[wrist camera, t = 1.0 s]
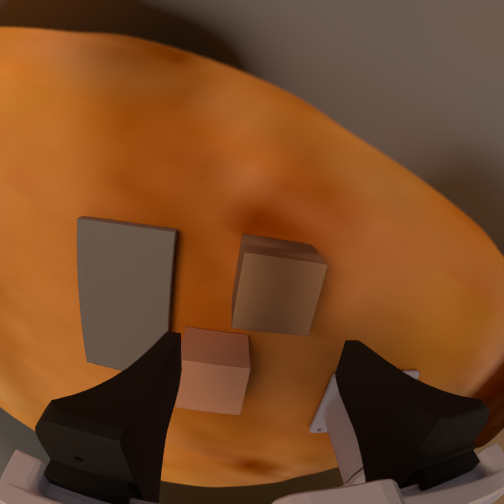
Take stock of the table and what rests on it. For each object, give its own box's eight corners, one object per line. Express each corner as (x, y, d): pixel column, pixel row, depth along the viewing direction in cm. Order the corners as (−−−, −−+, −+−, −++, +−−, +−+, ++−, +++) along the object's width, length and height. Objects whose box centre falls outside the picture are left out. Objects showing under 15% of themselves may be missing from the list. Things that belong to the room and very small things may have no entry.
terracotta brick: (247, 335, 22) (250, 368, 18) (238, 380, 23) (239, 415, 19) (186, 326, 22) (177, 359, 18) (182, 372, 23) (175, 407, 19)
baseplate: (177, 229, 19) (175, 232, 18) (168, 373, 23) (166, 379, 22) (82, 216, 18) (77, 218, 18) (90, 356, 22) (86, 361, 21)
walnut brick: (310, 244, 20) (327, 264, 16) (295, 305, 21) (307, 335, 18) (242, 233, 20) (244, 252, 16) (232, 297, 21) (231, 327, 17)
